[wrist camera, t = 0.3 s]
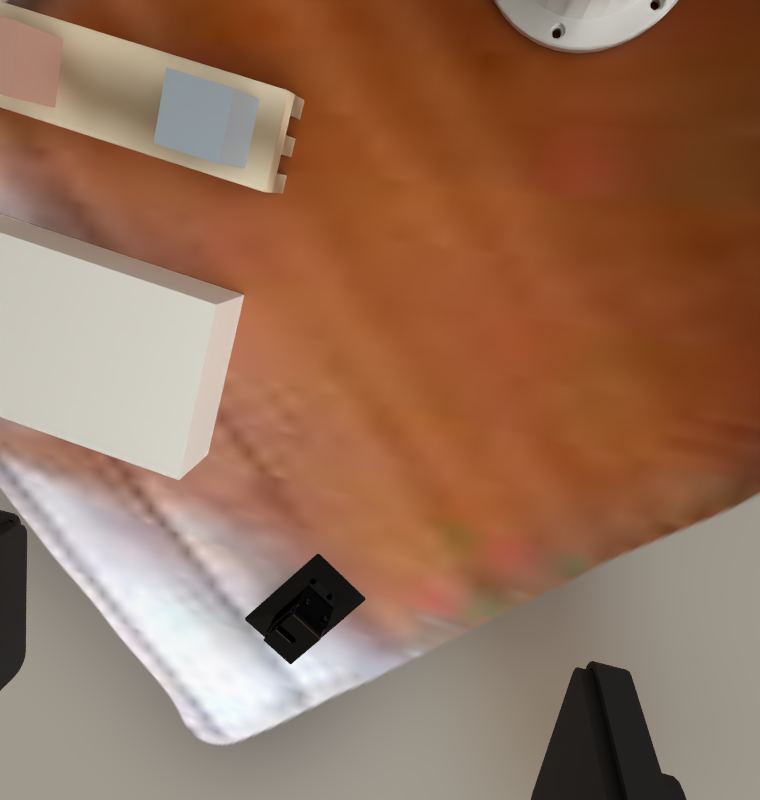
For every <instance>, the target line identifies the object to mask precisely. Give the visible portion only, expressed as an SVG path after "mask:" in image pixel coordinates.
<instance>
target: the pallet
mask: <svg viewBox="0 0 760 800" xmlns="http://www.w3.org/2000/svg"><path fill="white" fill-rule="evenodd" d="M0 16H3V17H6V18H9V19H12V20H16V21H19V22H21V23H24V24H26V25H29V26H31V27H34V28H36V29H39V30H41V31H44V32H46V33H49V34H51V35H54V36H56V37H59V38H61V39H63V47H62V55H61V64H60V72H59V80H58V89H57V97H56V106H55V108H54V107H50V106H45V105H41V104H37V103H32V102H28V101H24V100H20V99H15V98H11V97H8V96H5V95H2V94H0V107H1V108H4V109H7V110H10V111H13V112H17V113H20V114H23V115H26V116H29V117H32V118H35V119H38V120H41V121H45V122H48V123H51V124H54V125H57V126H60V127H63V128H66V129H69V130H73V131H76V132H79V133H82V134H85V135H88V136H91V137H94V138H98V139H101V140H104V141H107V142H110V143H113V144H116V145H119V146H122V147H126V148H129V149H132V150H135V151H138V152H141V153H144V154H147V155H150V156H154V157H157V158H160V159H163V160H166V161H169V162H172V163H175V164H178V165H182V166H185V167H188V168H191V169H194V170H197V171H200V172H203V173H207V174H210V175H213V176H216V177H219V178H222V179H225V180H228V181H231V182H235V183H238V184H241V185H244V186H247V187H250V188H253V189H256V190H259V191H263V192H269V193H283V190H284V185H285V181H286V177H287V175H284V174H281V173H277V170H278V166H279V162H280V157H281V155H285V156H288V157H291V156H292V151H293V147H294V143H295V138H293V137H290V136H287V135H286V131H287V127H288V123H289V118H290V117H293V118H296V119H300V118H301V113H302V109H303V105H304V101H305V100H303V99H302V98H300V97H298V96H296V95H295V94H293V93H291V92H290V91H288V90H285V89H282V88H278V87H275V86H272V85H269V84H266V83H262V82H259V81H256V80H253V79H249V78H246V77H243V76H240V75H236V74H233V73H230V72H227V71H224V70H220V69H217V68H214V67H211V66H207V65H204V64H201V63H198V62H194V61H191V60H188V59H185V58H182V57H178V56H175V55H172V54H169V53H165V52H162V51H159V50H156V49H152V48H149V47H146V46H143V45H140V44H136V43H133V42H130V41H127V40H123V39H120V38H117V37H114V36H111V35H107V34H104V33H101V32H98V31H94V30H91V29H88V28H85V27H81V26H78V25H75V24H72V23H69V22H65V21H62V20H59V19H56V18H52V17H49V16H46V15H43V14H39V13H36V12H33V11H30V10H27V9H23V8H20V7H17V6H14V5H10V4H7V3H4V2H1V1H0ZM166 68H170V69H173V70H176V71H179V72H182V73H186V74H189V75H192V76H195V77H198V78H202V79H205V80H208V81H211V82H215V83H218V84H221V85H224V86H227V87H231V88H234V89H236V90H238V91H240V92H243V93H245V94H247V95H249V96H251V97H253V98H255V99H257V100H259V105H258V110H257V115H256V119H255V124H254V129H253V133H252V138H251V143H250V147H249V152H248V157H247V161H246V166H245V168H239V167H233V166H227V165H221V164H217V163H214V162H211V161H208V160H205V159H202V158H198V157H195V156H192V155H189V154H186V153H183V152H180V151H177V150H173V149H170V148H167V147H164V146H161V145H158V144H155V143H154V137H155V131H156V125H157V119H158V114H159V108H160V102H161V96H162V90H163V84H164V78H165V72H166Z"/></svg>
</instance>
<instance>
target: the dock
mask: <svg viewBox="0 0 760 800" xmlns="http://www.w3.org/2000/svg"><path fill="white" fill-rule="evenodd" d="M243 299H244V295H243V294H240V293H237V292H234V291H231V290H228V289H225V288H222V287H219V286H216V285H213V284H210V283H207V282H204V281H201V280H198V279H195V278H192V277H189V276H186V275H183V274H180V273H177V272H174V271H171V270H168V269H165V268H162V267H159V266H156V265H153V264H150V263H147V262H144V261H141V260H138V259H135V258H132V257H129V256H126V255H123V254H120V253H117V252H114V251H111V250H108V249H105V248H102V247H99V246H96V245H93V244H90V243H87V242H84V241H81V240H78V239H75V238H72V237H69V236H66V235H63V234H60V233H57V232H54V231H51V230H48V229H45V228H42V227H39V226H36V225H33V224H30V223H27V222H24V221H21V220H18V219H15V218H12V217H9V216H6V215H3V214H0V417H2V418H5V419H7V420H10V421H13V422H16V423H19V424H22V425H24V426H27V427H30V428H33V429H36V430H38V431H41V432H44V433H47V434H50V435H53V436H55V437H58V438H61V439H64V440H67V441H70V442H72V443H75V444H78V445H81V446H84V447H87V448H89V449H92V450H95V451H98V452H101V453H104V454H106V455H109V456H112V457H115V458H118V459H120V460H123V461H126V462H129V463H132V464H135V465H137V466H140V467H143V468H146V469H149V470H152V471H154V472H157V473H160V474H163V475H166V476H169V477H171V478H174V479H177V480H180V479H181V478H182V477H183V476H184V475H185V474H186V473H188V472H189V471H190V470H191V469H192V468H193V467H194V466H195V465H197V464H198V463H199V462H200V461H201V460H202V459H203V458H205V457H206V456H207V455H208V452H209V448H210V443H211V439H212V435H213V430H214V426H215V421H216V417H217V413H218V408H219V404H220V400H221V395H222V391H223V386H224V382H225V378H226V373H227V369H228V365H229V360H230V356H231V351H232V347H233V343H234V338H235V334H236V330H237V325H238V321H239V316H240V312H241V308H242V303H243Z"/></svg>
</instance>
